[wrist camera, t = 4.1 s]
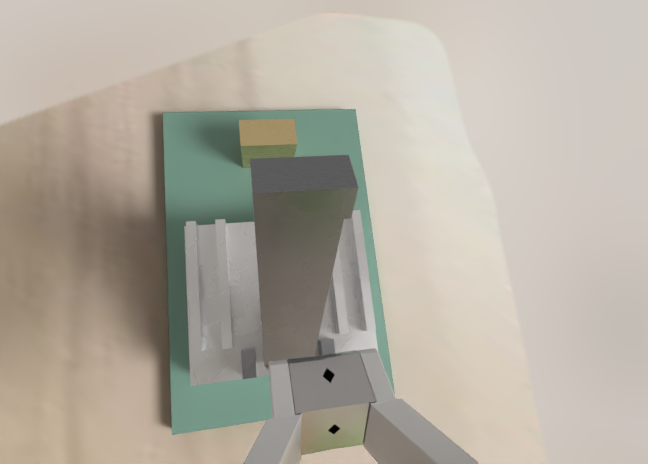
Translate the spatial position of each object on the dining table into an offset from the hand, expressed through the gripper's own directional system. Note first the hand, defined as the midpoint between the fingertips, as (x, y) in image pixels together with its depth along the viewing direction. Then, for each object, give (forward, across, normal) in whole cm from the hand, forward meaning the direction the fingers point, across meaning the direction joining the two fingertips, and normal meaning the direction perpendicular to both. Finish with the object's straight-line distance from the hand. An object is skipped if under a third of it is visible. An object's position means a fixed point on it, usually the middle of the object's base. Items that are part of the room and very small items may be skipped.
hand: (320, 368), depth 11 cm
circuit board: (+19, 0, +10) cm, 21 cm away
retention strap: (+7, 0, +3) cm, 8 cm away
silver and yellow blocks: (+18, 0, +8) cm, 20 cm away
